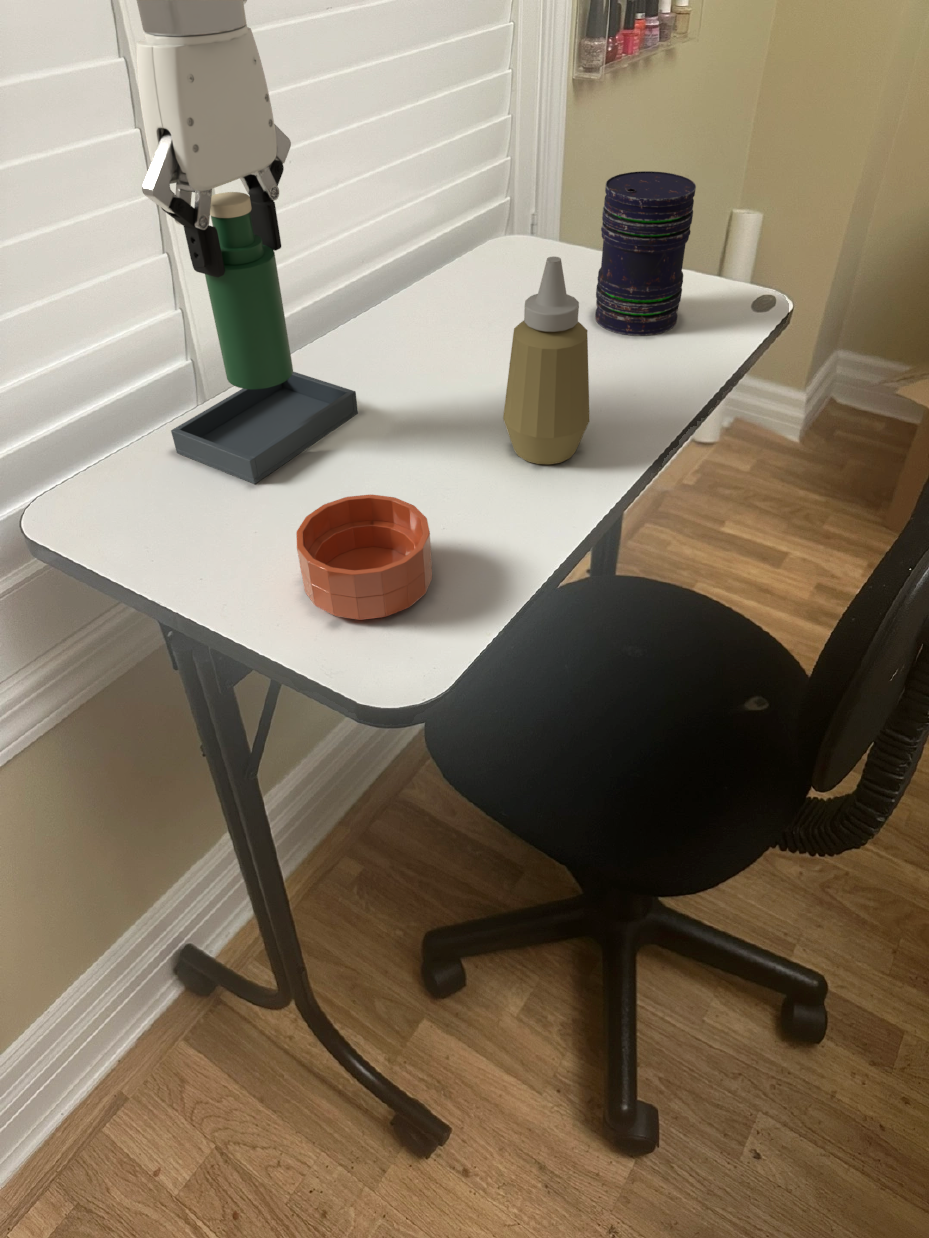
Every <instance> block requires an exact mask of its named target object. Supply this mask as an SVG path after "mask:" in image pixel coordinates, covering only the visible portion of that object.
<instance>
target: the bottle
mask: <svg viewBox="0 0 929 1238" xmlns="http://www.w3.org/2000/svg"><path fill="white" fill-rule="evenodd" d="M251 209H252V207H251V202H250V196H249V194H248V193H244V192H238V191H227V192H226V191H225V192H219V193H216V194H212V196H211V208H210V219H211V222H212V226H213V227H216V229H217V233H218V238H219V243H220V248H221V253H222V258H223V263H224V268H225V273H224V275H223V276H221V277H219V278H218V277H214V276H210V275H207V274H204V277H205V283H206V287H207V292H208V296H209V301H210V306H211V310H212V315H213V320H214V324H215V329H216V333H217V334H216V335H217V337H218V338H217V339H218V344H219V348H220V353H221V358H222V361H223V367H224V371H225V376H226V380H227V382H228V383H229V384H230V385H232V386H234V387H236V388H239V389H264V388H269V387H273V386H276V385H279V384H281V383H283V382H285V381H286V380H288V379H289V378H290V377H291V375H292V373H293V372H294V367H293V361H292V355H291V354H292V353H291V348H290V341H289V336H288V335H289V334H288V329H287V323H286V317H285V310H284V309H285V308H284V303H283V298H282V291H281V290H282V289H281V285H280V279H279V272H278V266H277V261H276V260H277V259H276V254H275V251H274V250H273V249H271V248H270V247H268V246H265V245H263V244H262V239H261V238H260V237H259V236H257V235H254V233H253V228H252V222H251V216H250V211H251Z"/></svg>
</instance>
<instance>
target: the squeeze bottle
mask: <svg viewBox="0 0 929 1238" xmlns="http://www.w3.org/2000/svg"><path fill="white" fill-rule="evenodd" d="M579 309H580V302H579V301H578V299H576V297H574V296H573V295H570V294H568V293H567V288H566V282H565V275H564V270H563V262H562V257H559V256H549V257H547V258H546V262H545V265H544V269H543V273H542V277H541V281H540V284H539V289H538V292H537V293H536V294H532V295H531V296H529V297H528V298H527V299H525V301H524V311H523V320H522V321H521V322H519V324H517V325H516V326H515V327H514V328H513V333H512V342H511V350H510V357H509V367H508V374H507V383H506V391H505V399H504V400H505V401H504V407H503V416H502V419H503V422H504V426H505V427H506V431H507V434H508V436H509V440H510V442H511V445H512V448H513V451H514V452H515V454H516V455H517V456H518V457H519V458H521V459H522V460H524V461H526V462H528V463H532V464H537V465H556V464H560V463H563V462H565V461H567V460H569V459H571V458H572V457H573V455H574V454H575V453H576V451H577V449H578V447H579V445H580V442H581V440H582V439H583V437H584V434H585V433H586V430H587V428H588V426H589V424H590V385H589V384H590V382H589V381H590V380H589V378H590V376H589V346H588V345H589V342H588V337H589V336H588V329H587V328H586V327H585V326H584V325H583V324H582V323H581V322H580V321H579Z"/></svg>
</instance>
